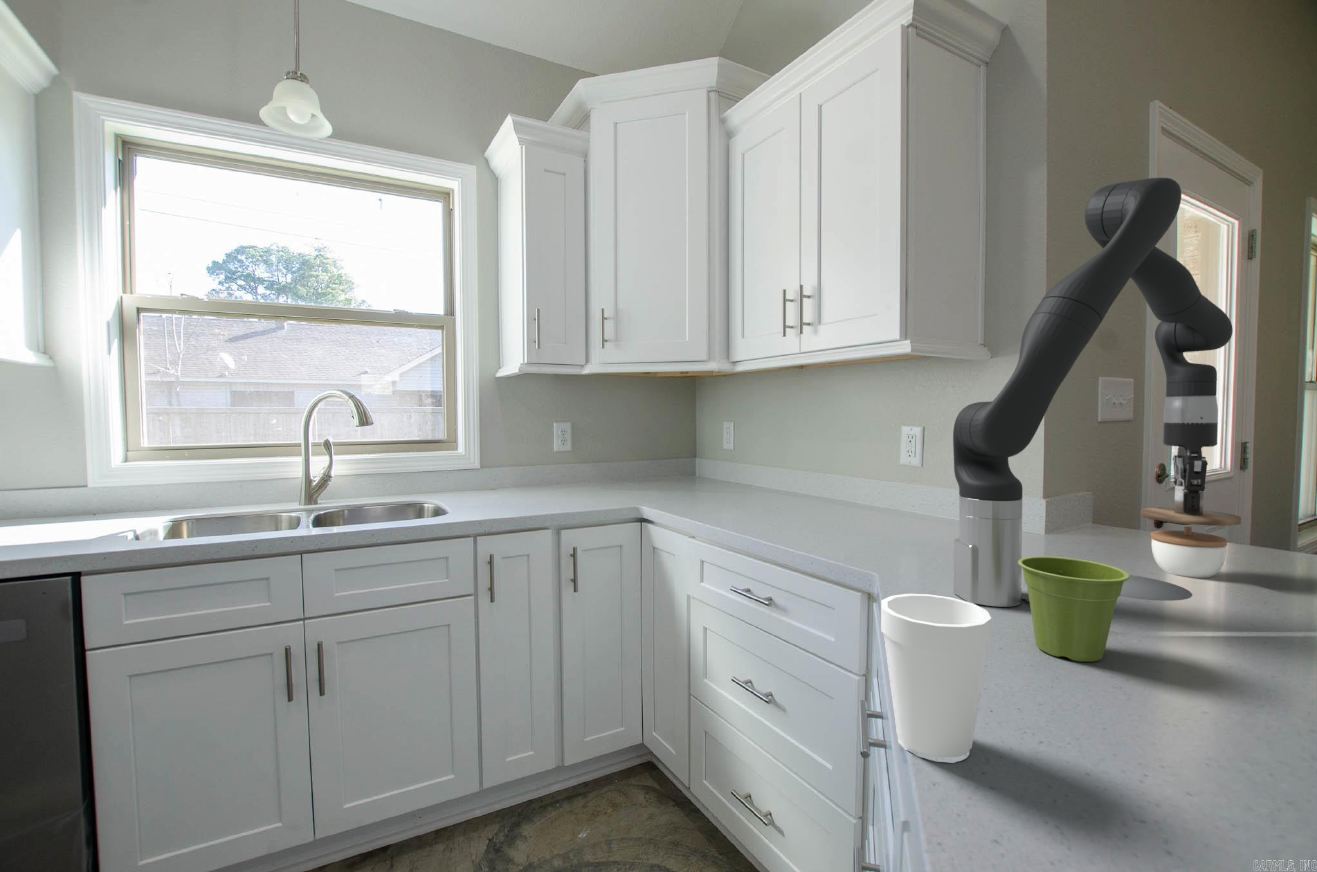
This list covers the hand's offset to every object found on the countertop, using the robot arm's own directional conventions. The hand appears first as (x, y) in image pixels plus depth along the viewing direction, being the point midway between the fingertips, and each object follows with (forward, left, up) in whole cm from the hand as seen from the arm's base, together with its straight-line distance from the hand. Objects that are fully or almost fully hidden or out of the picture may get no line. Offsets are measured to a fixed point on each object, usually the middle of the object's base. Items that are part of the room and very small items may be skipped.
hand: (1188, 511), depth 110 cm
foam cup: (-72, -58, -13) cm, 93 cm away
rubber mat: (-17, -8, -12) cm, 23 cm away
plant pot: (-45, -36, -13) cm, 59 cm away
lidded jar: (0, 0, -13) cm, 13 cm away
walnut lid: (0, 0, -1) cm, 1 cm away
